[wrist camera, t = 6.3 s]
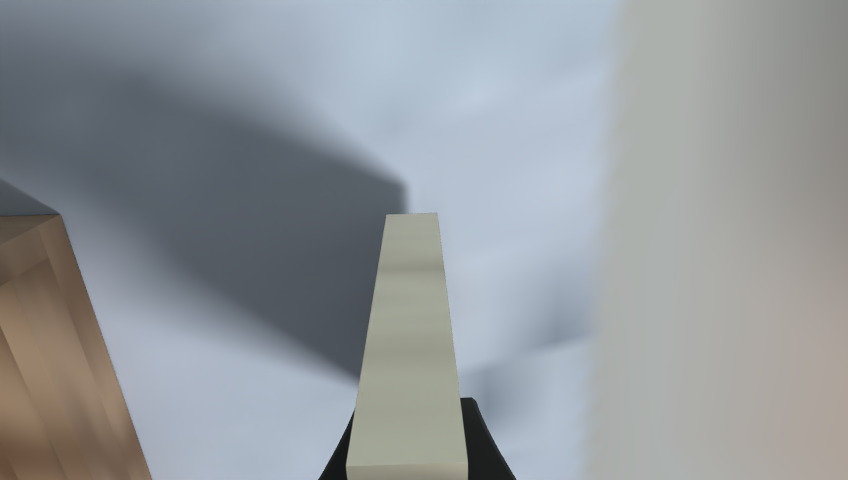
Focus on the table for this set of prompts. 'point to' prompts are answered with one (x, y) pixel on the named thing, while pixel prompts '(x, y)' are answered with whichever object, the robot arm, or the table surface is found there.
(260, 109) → the table surface
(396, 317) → the birch block
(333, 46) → the table surface
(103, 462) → the walnut rack
